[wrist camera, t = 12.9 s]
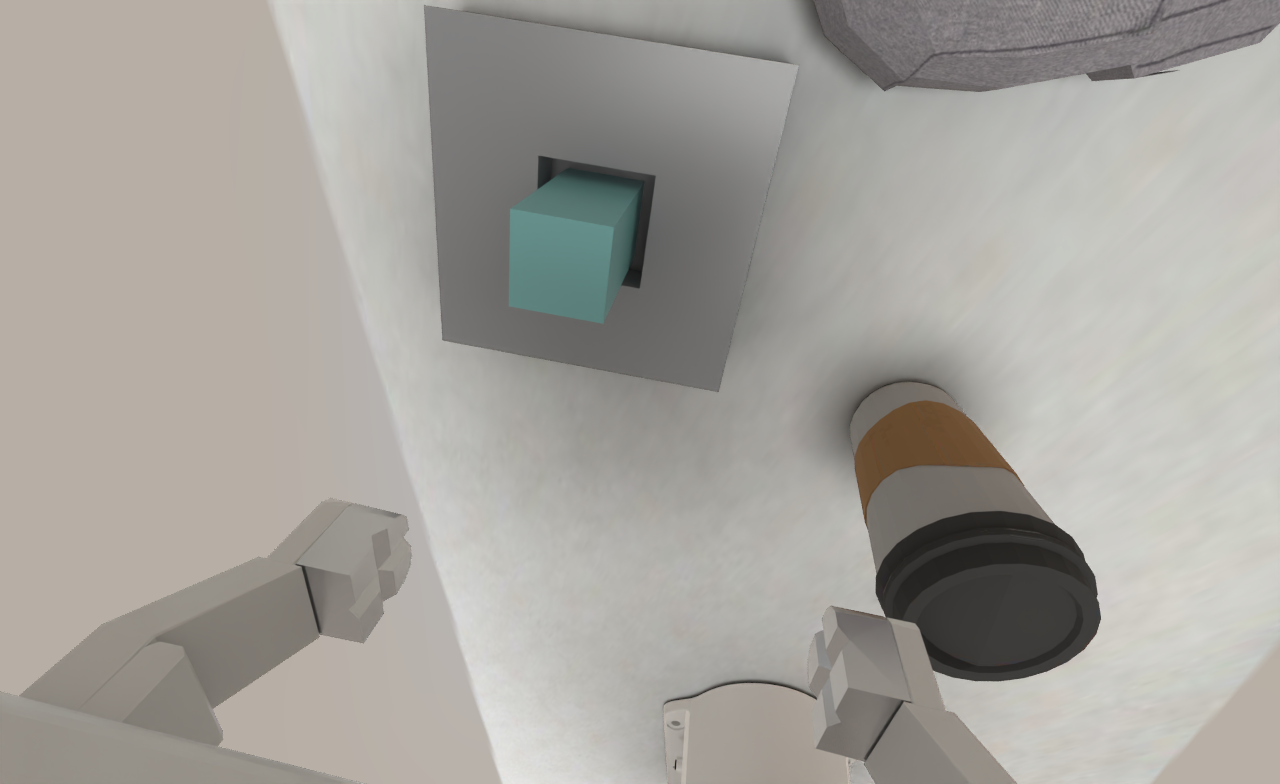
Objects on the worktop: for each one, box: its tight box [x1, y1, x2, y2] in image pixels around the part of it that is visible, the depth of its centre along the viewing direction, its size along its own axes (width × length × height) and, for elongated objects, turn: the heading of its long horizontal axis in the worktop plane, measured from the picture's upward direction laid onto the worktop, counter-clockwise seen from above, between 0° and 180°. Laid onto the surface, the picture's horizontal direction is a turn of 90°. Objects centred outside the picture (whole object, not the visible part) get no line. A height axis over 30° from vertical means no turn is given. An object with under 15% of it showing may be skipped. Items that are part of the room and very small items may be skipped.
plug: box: [509, 168, 645, 324], centre depth 26 cm, size 4×4×9 cm
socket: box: [424, 5, 799, 392], centre depth 29 cm, size 16×16×4 cm
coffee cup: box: [850, 381, 1101, 681], centre depth 29 cm, size 8×8×15 cm
